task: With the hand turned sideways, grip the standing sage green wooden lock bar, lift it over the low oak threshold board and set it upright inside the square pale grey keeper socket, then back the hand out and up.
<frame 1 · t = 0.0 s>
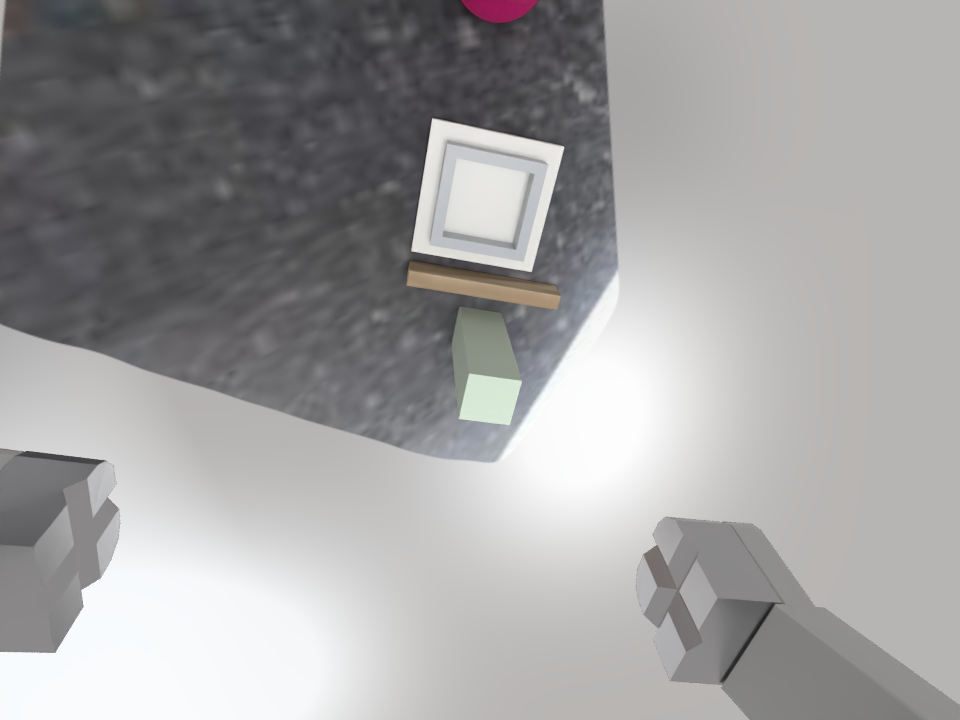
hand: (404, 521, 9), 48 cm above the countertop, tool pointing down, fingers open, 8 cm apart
oak threshold board: (482, 279, 58), on the countertop
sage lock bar: (476, 328, 61), on the countertop
grey keeper socket: (484, 198, 54), on the countertop
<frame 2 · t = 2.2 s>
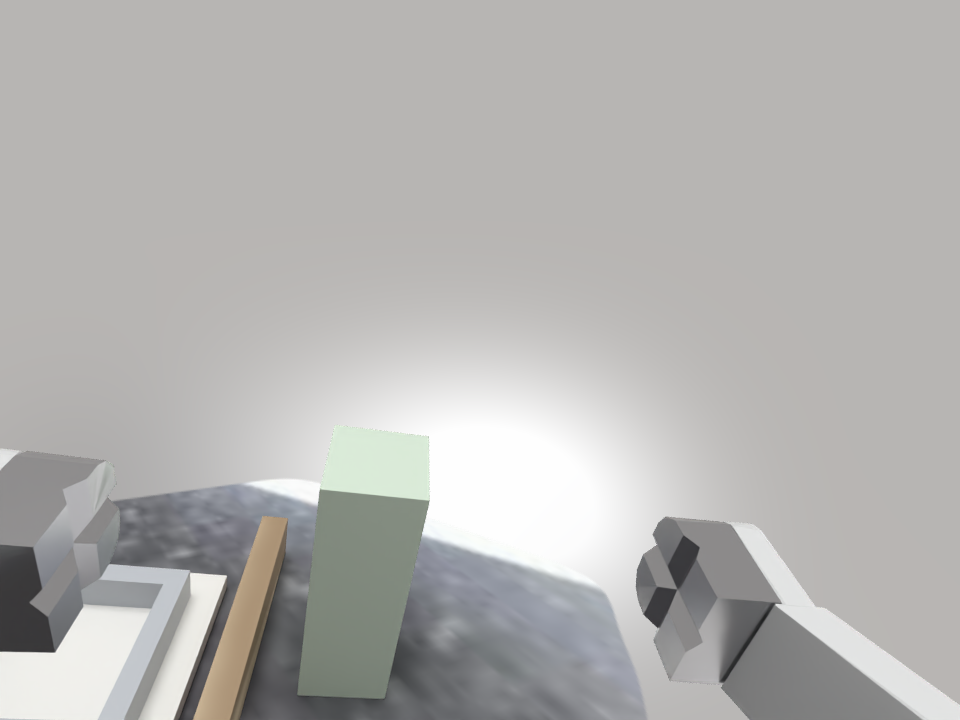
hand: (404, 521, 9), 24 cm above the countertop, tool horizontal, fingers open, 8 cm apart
oak threshold board: (240, 660, 31), on the countertop
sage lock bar: (346, 657, 32), on the countertop
grey keeper socket: (60, 680, 28), on the countertop
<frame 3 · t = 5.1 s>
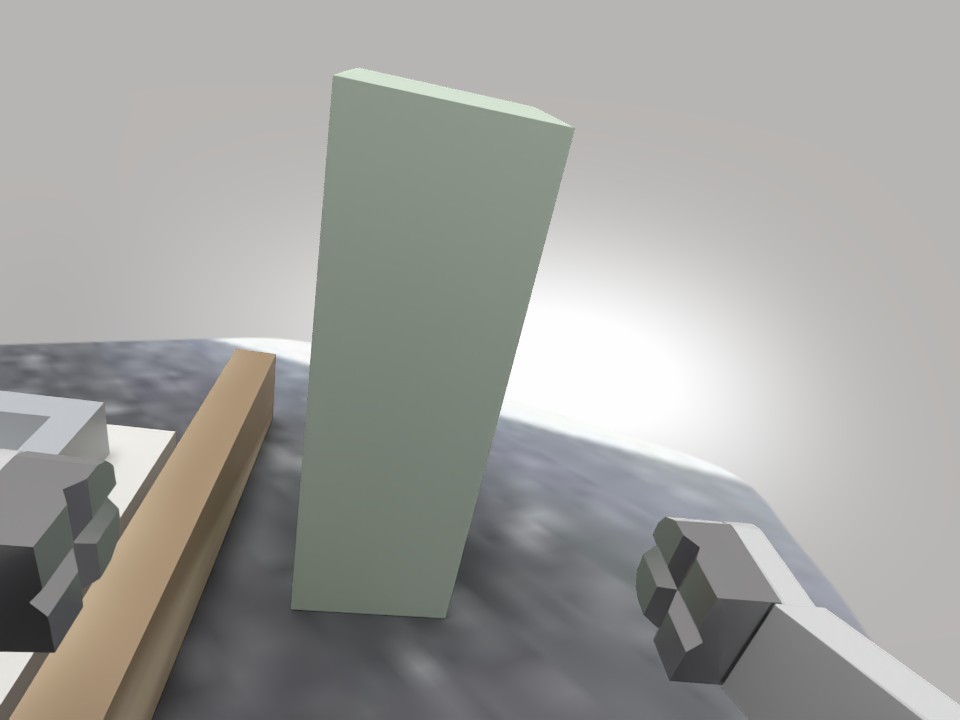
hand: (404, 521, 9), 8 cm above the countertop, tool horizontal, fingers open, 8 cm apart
oak threshold board: (191, 552, 17), on the countertop
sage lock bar: (375, 554, 19), on the countertop
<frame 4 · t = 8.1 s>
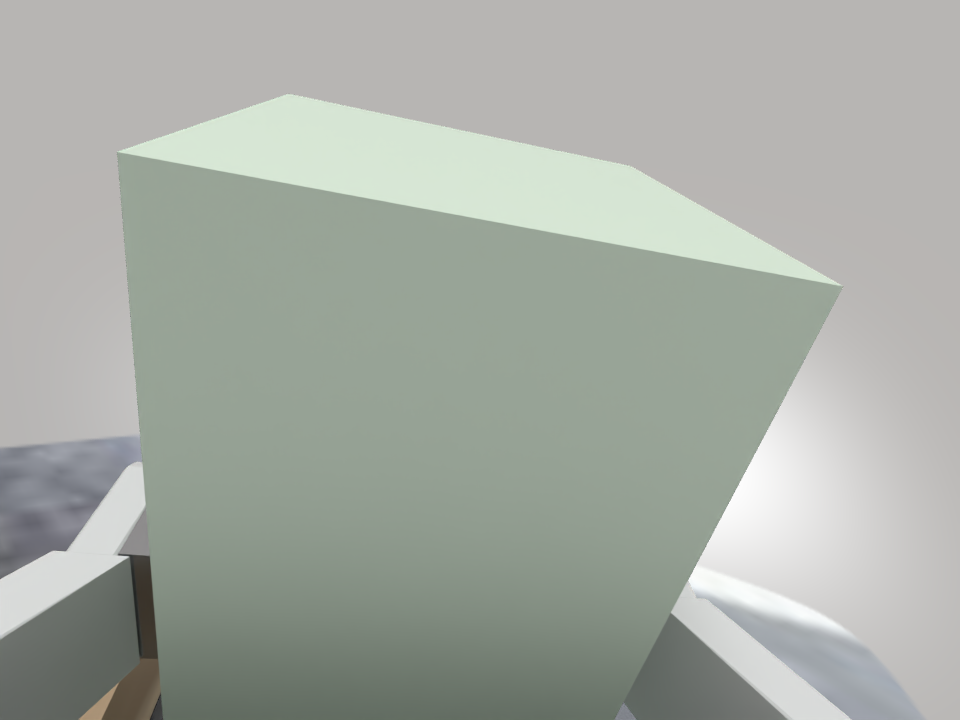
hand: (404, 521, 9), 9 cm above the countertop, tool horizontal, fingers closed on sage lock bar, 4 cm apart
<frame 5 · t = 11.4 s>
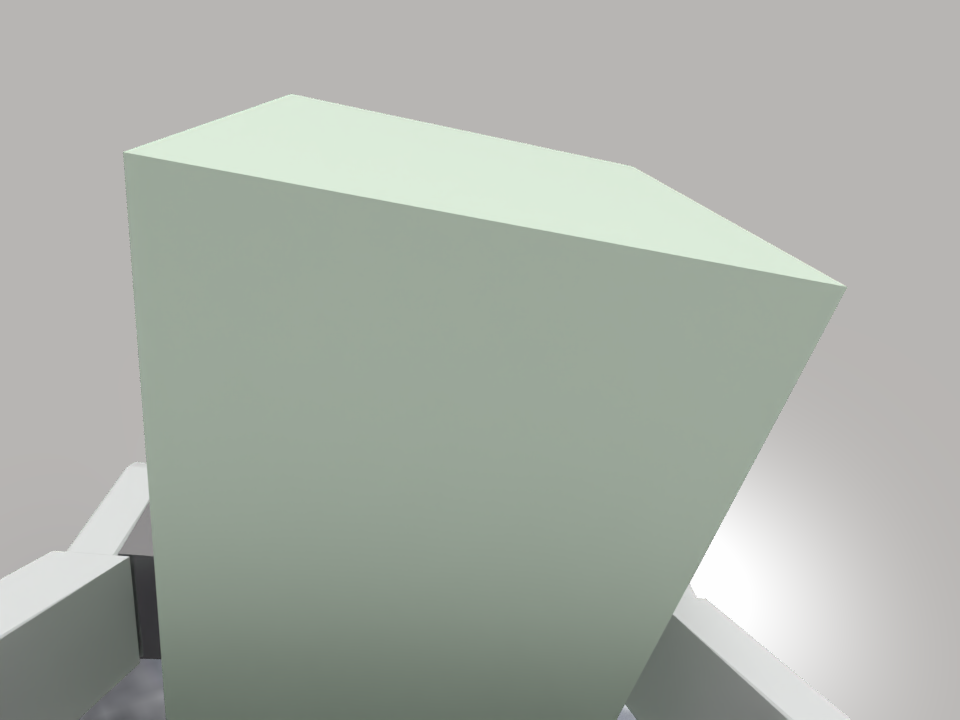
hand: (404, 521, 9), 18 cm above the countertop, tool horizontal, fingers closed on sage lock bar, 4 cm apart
when the fingers open (11 cm above the countertop, at t = 14.7 s): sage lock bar drops 1 cm, resting on grey keeper socket.
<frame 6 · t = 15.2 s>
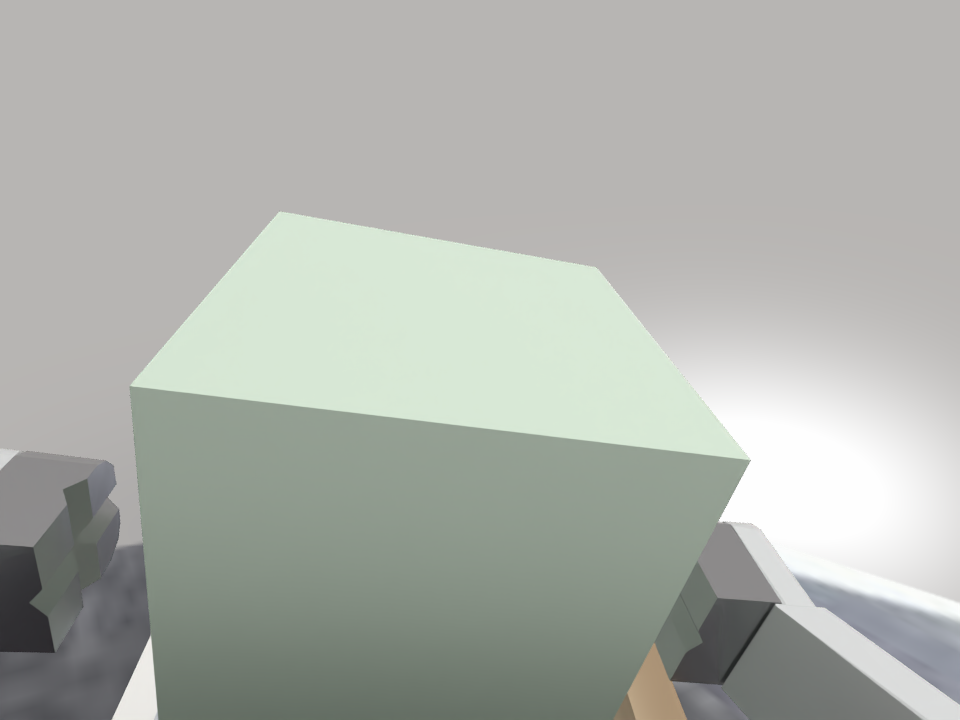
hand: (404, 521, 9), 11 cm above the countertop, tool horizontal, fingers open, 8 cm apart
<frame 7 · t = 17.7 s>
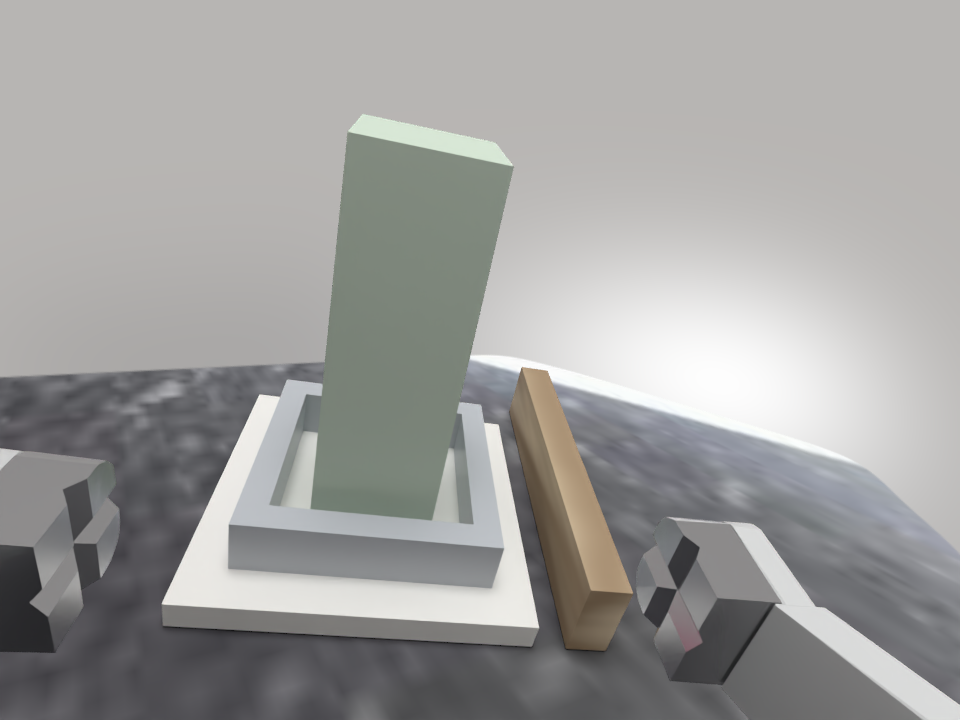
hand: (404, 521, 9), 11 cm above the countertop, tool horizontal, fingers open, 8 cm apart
oak threshold board: (545, 502, 27), on the countertop
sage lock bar: (373, 491, 24), point 1 cm above the countertop, touching grey keeper socket
grey keeper socket: (371, 508, 24), on the countertop
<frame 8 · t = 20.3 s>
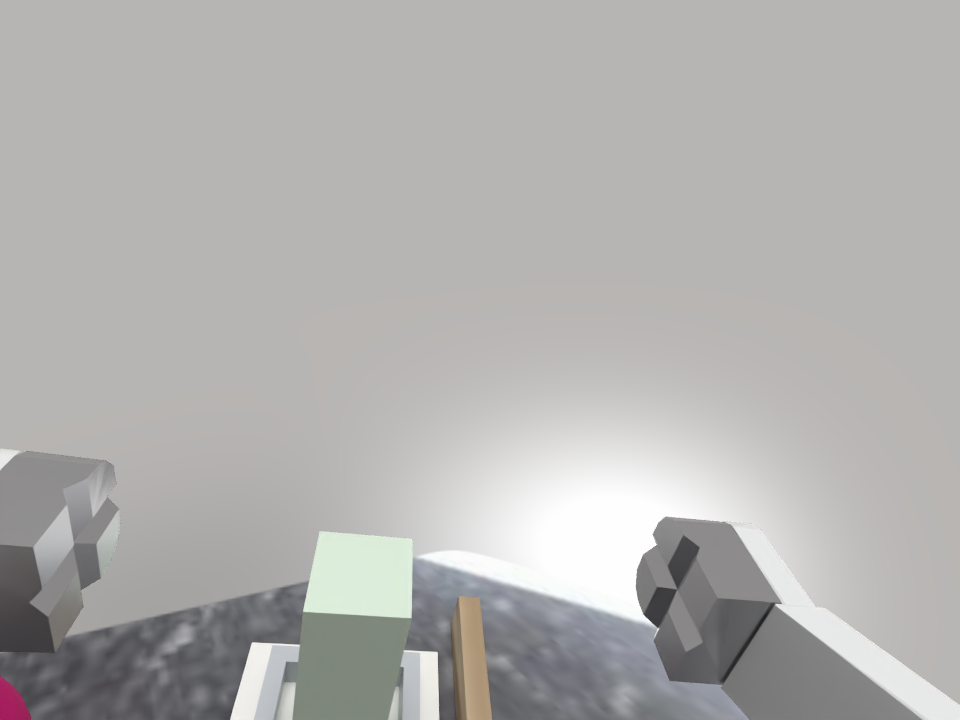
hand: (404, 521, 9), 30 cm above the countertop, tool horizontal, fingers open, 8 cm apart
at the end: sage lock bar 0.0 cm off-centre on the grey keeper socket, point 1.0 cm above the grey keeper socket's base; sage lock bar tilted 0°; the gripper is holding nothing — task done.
